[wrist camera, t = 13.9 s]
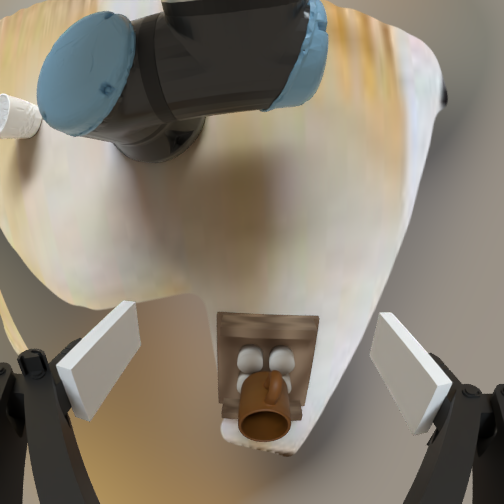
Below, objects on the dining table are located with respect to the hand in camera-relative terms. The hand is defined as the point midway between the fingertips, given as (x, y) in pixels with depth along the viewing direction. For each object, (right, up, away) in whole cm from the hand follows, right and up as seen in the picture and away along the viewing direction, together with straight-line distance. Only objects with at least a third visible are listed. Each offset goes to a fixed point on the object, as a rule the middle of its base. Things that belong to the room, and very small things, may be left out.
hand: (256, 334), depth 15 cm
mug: (+2, -16, +29) cm, 33 cm away
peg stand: (+2, -15, +33) cm, 36 cm away
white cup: (-42, +29, +24) cm, 57 cm away
